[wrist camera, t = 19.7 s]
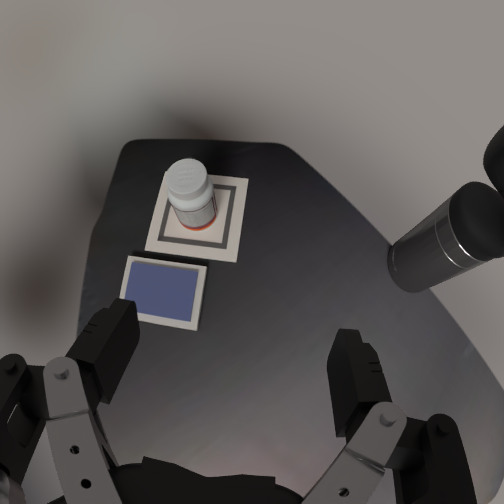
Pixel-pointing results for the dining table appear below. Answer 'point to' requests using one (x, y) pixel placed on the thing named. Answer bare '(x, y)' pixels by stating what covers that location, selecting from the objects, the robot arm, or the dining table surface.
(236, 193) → the white flat square slab
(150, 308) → the ink pad
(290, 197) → the dining table surface
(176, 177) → the pill bottle
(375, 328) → the dining table surface
